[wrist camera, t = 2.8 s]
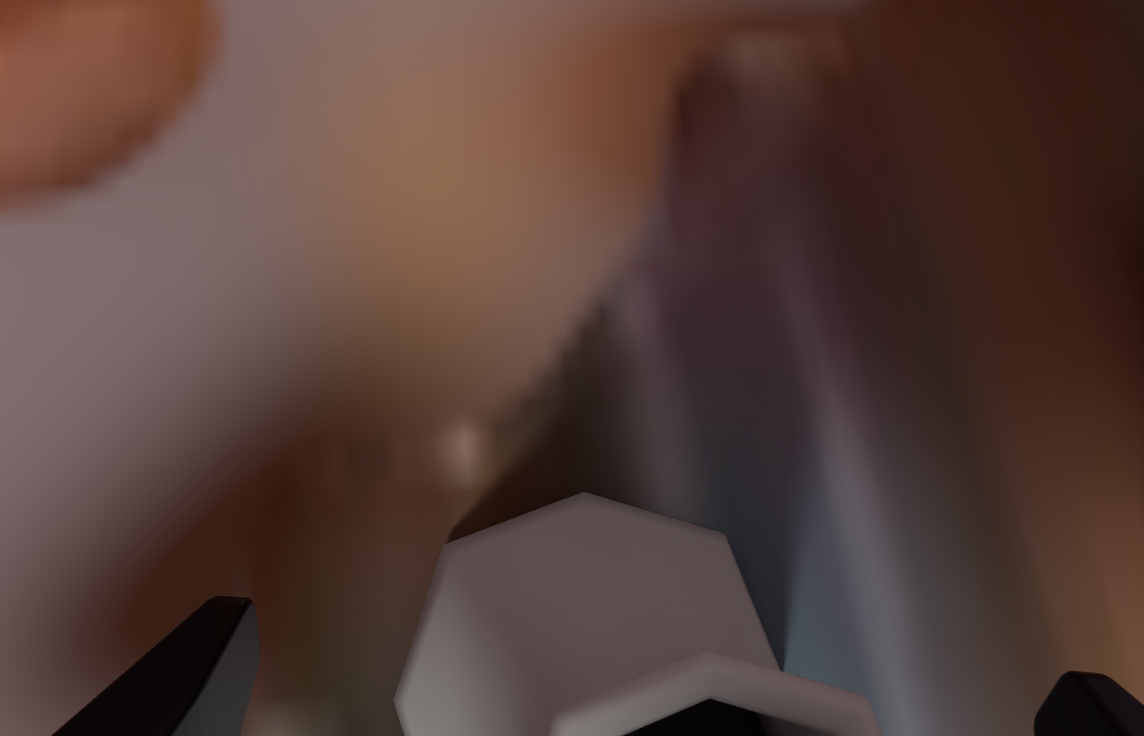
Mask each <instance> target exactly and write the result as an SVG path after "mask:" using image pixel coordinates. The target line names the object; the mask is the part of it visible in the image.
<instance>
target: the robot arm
mask: <svg viewBox="0 0 1144 736" xmlns="http://www.w3.org/2000/svg"><path fill="white" fill-rule="evenodd" d="M259 660H260V643H259V634H258V626H257V617H256V609H255V605H254V603H253V601H252V600H251V599H249V598H246V597H235V596H224V595H217V596H214V597H212V598H210V599H208V600H207V601H205V602H204V604H202V605H201V606H200V607H199V608H197V609H196V610H195V611H194V612H193V613H192V614H191V615H189V616H188V617H187V618H186V619H185V620H184V621H182V622H181V623H180V624H179V625H178V626H177V627H176V628H174V629H173V630H172V631H171V632H170V633H169V634H167V635H166V636H165V637H164V638H163V639H162V640H161V641H159V643H157V644H156V645H155V646H154V647H153V648H151V649H150V650H149V651H148V652H147V653H146V654H144V655H143V656H142V657H141V658H140V659H139V660H138V661H136V663H134V664H133V665H132V666H131V667H130V668H128V669H127V670H126V671H125V672H124V673H123V674H121V675H120V676H119V677H118V678H117V679H116V680H115V681H113V682H112V683H111V684H110V685H109V686H108V687H107V688H105V689H104V690H103V691H102V692H101V693H100V694H98V695H97V696H96V697H95V698H94V699H93V700H92V701H91V702H89V703H88V704H87V705H86V706H85V707H84V708H82V709H81V710H80V711H79V712H78V713H77V714H75V715H74V716H73V717H72V718H71V719H70V720H69V721H67V722H66V723H65V724H64V725H63V726H62V727H60V728H59V729H58V730H57V731H56V732H55V733H54V734H52V736H239V735H240V731H241V728H242V724H243V720H244V717H245V713H246V710H247V706H248V703H249V699H250V696H251V692H252V688H253V685H254V681H255V678H256V674H257V670H258V666H259ZM1034 734H1035V736H1144V705H1143V704H1142V703H1141V702H1139V701H1138V700H1137V699H1136V698H1135V697H1133V696H1132V695H1131V694H1130V693H1128V692H1127V691H1126V690H1125V689H1124V688H1122V687H1121V686H1120V685H1119V684H1118V683H1116V682H1115V681H1114V680H1112V679H1111V678H1110V677H1108V676H1106V675H1103V674H1099V673H1091V672H1080V671H1068V672H1066V673H1064V674H1063V675H1062V676H1061V677H1060V678H1059V680H1058V681H1057V683H1056V684H1055V686H1054V687H1053V689H1052V690H1051V692H1050V693H1049V695H1048V696H1047V698H1046V699H1045V701H1044V702H1043V704H1042V705H1041V707H1040V708H1039V710H1038V712H1037V714H1036V716H1035V720H1034Z"/></svg>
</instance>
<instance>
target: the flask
mask: <svg viewBox="0 0 1144 736" xmlns="http://www.w3.org/2000/svg"><path fill="white" fill-rule="evenodd" d="M393 701H394V704H395V707H396V710H397V714H398V717H399V720H400V723H401V726H402V729H403V732H404V736H883V734H882V732H881V730H880V727H879V725H878V723H877V720H876V718H875V716H874V713H873V711H872V708H871V706H870V704H869V701H868V699H866V698H864V697H862V696H860V695H859V694H857V693H853V692H850V691H847V690H843V689H840V688H836V687H833V686H830V685H826V684H823V683H820V682H816V681H813V680H809V679H806V678H803V677H799V676H796V675H793V674H789V673H786V672H782V671H780V668H779V666H778V663H777V661H776V658H775V656H774V653H773V651H772V648H771V646H770V644H769V641H768V639H767V636H766V634H765V631H764V629H763V626H762V624H761V621H760V619H759V617H758V614H757V612H756V609H755V607H754V604H753V602H752V599H751V597H750V594H749V592H748V590H747V587H746V585H745V582H744V580H743V577H742V575H741V572H740V570H739V567H738V565H737V562H736V560H735V558H734V555H733V553H732V550H731V548H730V545H729V543H728V540H727V538H726V535H725V534H724V533H721V532H718V531H714V530H711V529H708V528H704V527H701V526H697V525H694V524H691V523H687V522H684V521H681V520H677V519H674V518H671V517H667V516H664V515H660V514H657V513H654V512H650V511H647V510H644V509H640V508H637V507H634V506H630V505H627V504H623V503H620V502H617V501H613V500H610V499H607V498H603V497H600V496H597V495H593V494H590V493H586V492H581V493H579V494H576V495H574V496H571V497H568V498H566V499H563V500H560V501H558V502H555V503H552V504H550V505H547V506H544V507H542V508H539V509H537V510H534V511H531V512H529V513H526V514H523V515H521V516H518V517H515V518H513V519H510V520H507V521H505V522H502V523H500V524H497V525H494V526H492V527H489V528H486V529H484V530H481V531H478V532H476V533H473V534H470V535H468V536H465V537H463V538H460V539H457V540H455V541H452V542H449V543H447V544H444V545H443V546H442V549H441V552H440V555H439V559H438V562H437V565H436V568H435V571H434V574H433V577H432V580H431V584H430V587H429V590H428V593H427V596H426V599H425V602H424V606H423V609H422V612H421V615H420V618H419V621H418V624H417V628H416V631H415V634H414V637H413V640H412V643H411V646H410V650H409V653H408V656H407V659H406V662H405V665H404V668H403V671H402V675H401V678H400V681H399V684H398V687H397V690H396V693H395V697H394V700H393Z"/></svg>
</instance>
